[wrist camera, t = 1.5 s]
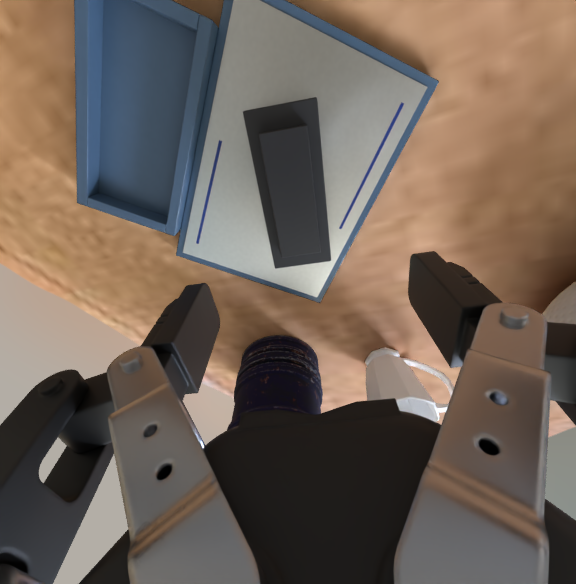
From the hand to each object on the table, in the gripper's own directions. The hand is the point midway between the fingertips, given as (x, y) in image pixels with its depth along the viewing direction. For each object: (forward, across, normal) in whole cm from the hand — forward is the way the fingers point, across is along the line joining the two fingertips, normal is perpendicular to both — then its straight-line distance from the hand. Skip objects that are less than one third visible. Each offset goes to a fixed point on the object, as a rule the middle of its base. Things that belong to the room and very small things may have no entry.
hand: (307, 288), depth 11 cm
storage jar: (+16, +5, +20) cm, 26 cm away
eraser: (+15, 0, -1) cm, 15 cm away
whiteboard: (+16, +1, -1) cm, 16 cm away
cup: (+16, -9, +22) cm, 28 cm away
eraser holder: (+16, +11, -7) cm, 20 cm away
